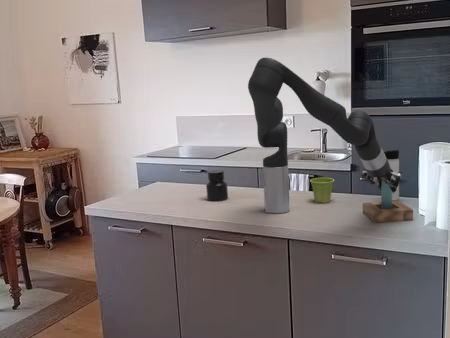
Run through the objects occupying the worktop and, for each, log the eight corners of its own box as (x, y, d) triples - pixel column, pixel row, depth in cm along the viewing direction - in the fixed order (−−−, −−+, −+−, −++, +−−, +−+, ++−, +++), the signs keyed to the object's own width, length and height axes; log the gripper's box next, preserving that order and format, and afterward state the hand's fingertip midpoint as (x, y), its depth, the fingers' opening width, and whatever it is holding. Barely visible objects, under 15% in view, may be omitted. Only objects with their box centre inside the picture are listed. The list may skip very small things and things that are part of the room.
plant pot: (339, 202, 191) (339, 180, 190) (318, 205, 188) (318, 183, 186) (326, 197, 200) (325, 176, 198) (306, 200, 196) (305, 179, 195)
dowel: (383, 214, 166) (383, 168, 163) (380, 211, 169) (379, 166, 167) (393, 213, 166) (393, 167, 163) (389, 210, 170) (389, 165, 167)
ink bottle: (218, 195, 216) (216, 168, 213) (232, 197, 209) (231, 170, 207) (202, 200, 209) (200, 172, 207) (216, 202, 203) (214, 174, 201)
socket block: (373, 222, 162) (373, 212, 161) (362, 212, 175) (362, 202, 174) (413, 220, 162) (413, 209, 161) (399, 210, 174) (399, 200, 174)
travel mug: (391, 204, 183) (391, 151, 180) (378, 200, 189) (377, 149, 186) (403, 201, 186) (403, 149, 183) (390, 198, 192) (390, 147, 189)
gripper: (350, 168, 160) (366, 196, 171) (392, 171, 151) (406, 201, 162) (357, 150, 163) (372, 179, 174) (399, 151, 154) (412, 182, 165)
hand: (389, 189), depth 168 cm, fingers closed on dowel, 3 cm apart
